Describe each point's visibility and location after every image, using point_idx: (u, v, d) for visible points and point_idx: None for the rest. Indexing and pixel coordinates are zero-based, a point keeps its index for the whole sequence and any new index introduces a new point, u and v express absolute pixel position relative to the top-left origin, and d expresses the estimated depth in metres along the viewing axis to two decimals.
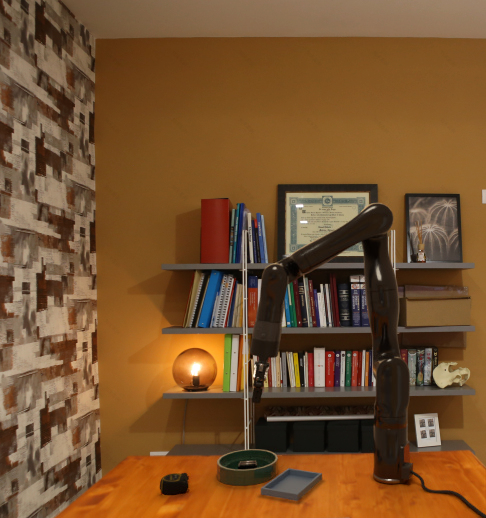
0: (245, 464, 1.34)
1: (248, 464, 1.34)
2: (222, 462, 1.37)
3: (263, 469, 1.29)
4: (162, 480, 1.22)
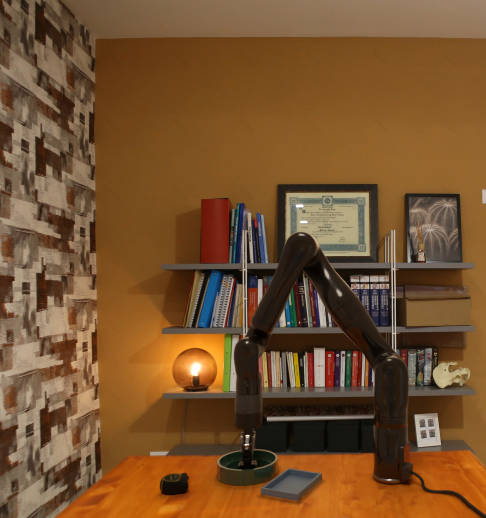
0: None
1: None
2: (222, 462, 1.37)
3: (263, 469, 1.29)
4: (162, 480, 1.22)
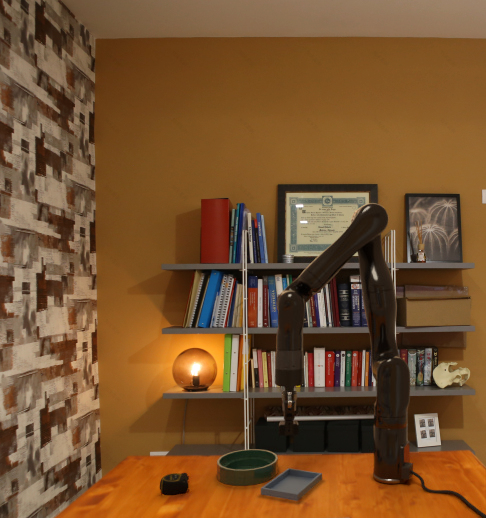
0: None
1: None
2: (222, 462, 1.37)
3: (263, 469, 1.29)
4: (162, 480, 1.22)
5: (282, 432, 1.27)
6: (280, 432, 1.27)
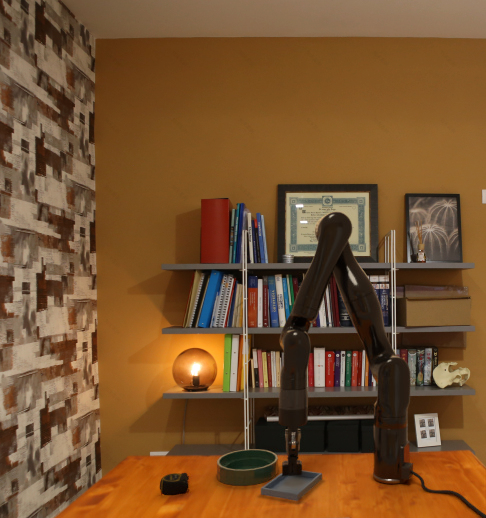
0: None
1: None
2: (222, 462, 1.37)
3: (263, 469, 1.29)
4: (162, 480, 1.22)
5: (285, 472, 1.25)
6: (283, 472, 1.25)
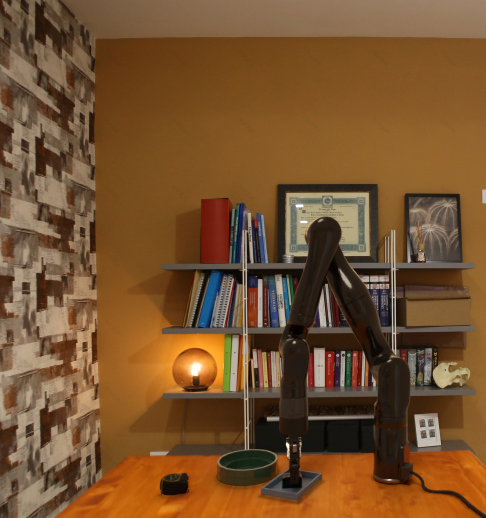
0: None
1: None
2: (222, 462, 1.37)
3: (263, 469, 1.29)
4: (162, 480, 1.22)
5: (285, 485, 1.25)
6: (283, 485, 1.25)
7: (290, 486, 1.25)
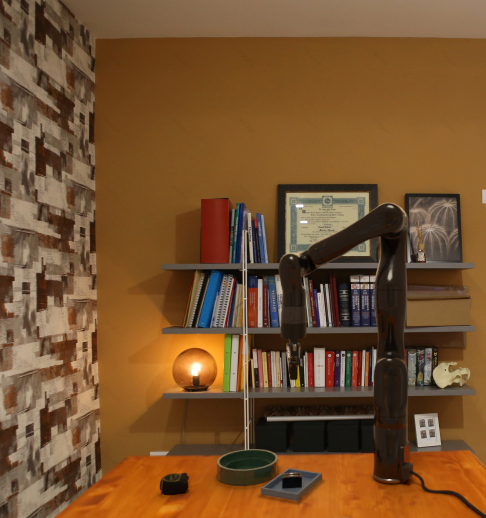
0: (290, 476, 1.26)
1: (293, 476, 1.26)
2: (222, 462, 1.37)
3: (263, 469, 1.29)
4: (162, 480, 1.22)
5: (285, 485, 1.25)
6: (283, 485, 1.25)
7: (290, 486, 1.25)
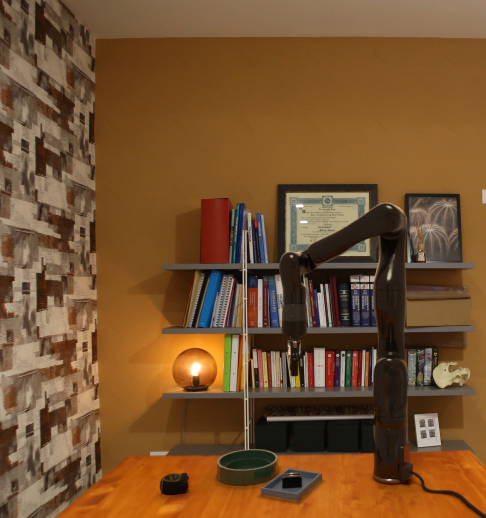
0: (290, 476, 1.26)
1: (293, 476, 1.26)
2: (222, 462, 1.37)
3: (263, 469, 1.29)
4: (162, 480, 1.22)
5: (285, 485, 1.25)
6: (283, 485, 1.25)
7: (290, 486, 1.25)
